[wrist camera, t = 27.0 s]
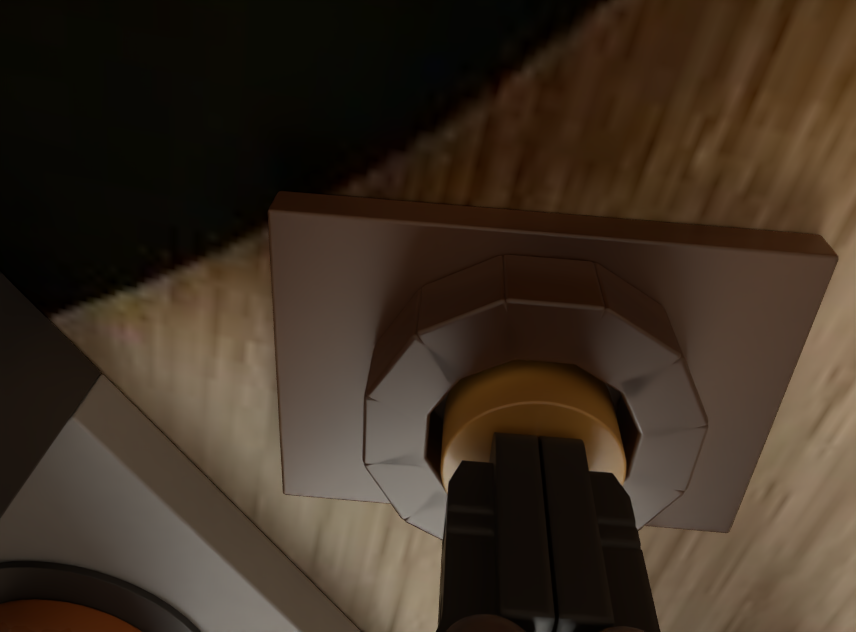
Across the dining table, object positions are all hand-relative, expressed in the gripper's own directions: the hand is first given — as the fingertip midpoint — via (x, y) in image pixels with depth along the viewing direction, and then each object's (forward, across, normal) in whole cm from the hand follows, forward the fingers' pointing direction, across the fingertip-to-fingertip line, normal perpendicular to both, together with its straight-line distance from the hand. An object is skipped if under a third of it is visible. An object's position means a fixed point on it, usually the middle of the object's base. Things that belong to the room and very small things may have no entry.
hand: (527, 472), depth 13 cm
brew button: (+2, 0, 0) cm, 2 cm away
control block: (+3, 0, 0) cm, 3 cm away
